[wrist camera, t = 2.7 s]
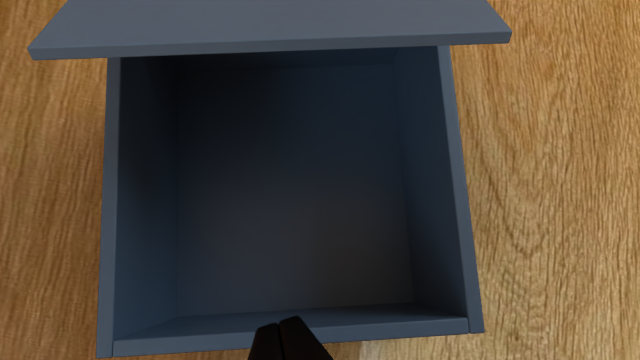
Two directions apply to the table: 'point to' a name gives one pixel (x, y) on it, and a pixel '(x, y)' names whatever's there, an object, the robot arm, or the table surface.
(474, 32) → the flap
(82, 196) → the table surface
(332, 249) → the carton
